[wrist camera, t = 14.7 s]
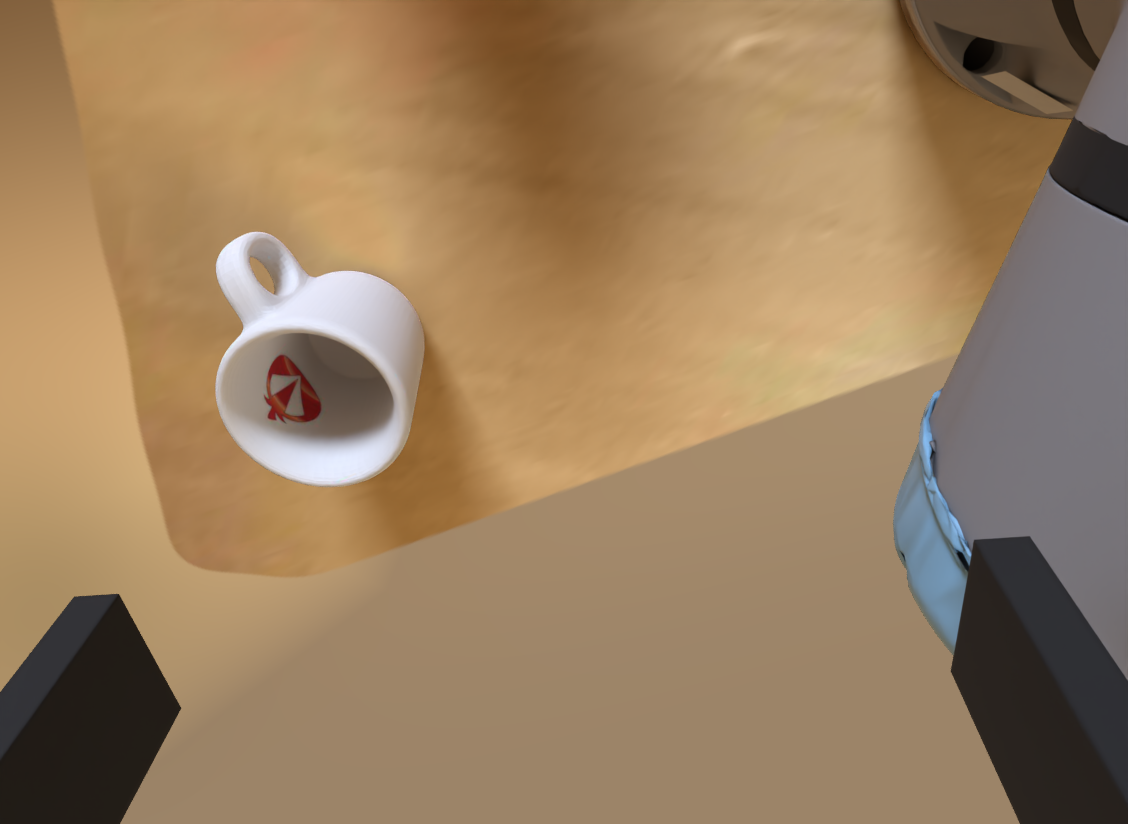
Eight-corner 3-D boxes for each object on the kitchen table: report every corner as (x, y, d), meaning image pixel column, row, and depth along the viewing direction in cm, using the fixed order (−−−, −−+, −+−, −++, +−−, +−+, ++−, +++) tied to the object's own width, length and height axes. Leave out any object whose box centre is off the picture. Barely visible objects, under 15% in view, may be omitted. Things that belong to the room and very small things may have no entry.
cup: (206, 244, 38) (119, 317, 31) (343, 163, 36) (281, 222, 29) (345, 419, 43) (296, 515, 36) (473, 357, 41) (446, 446, 34)
